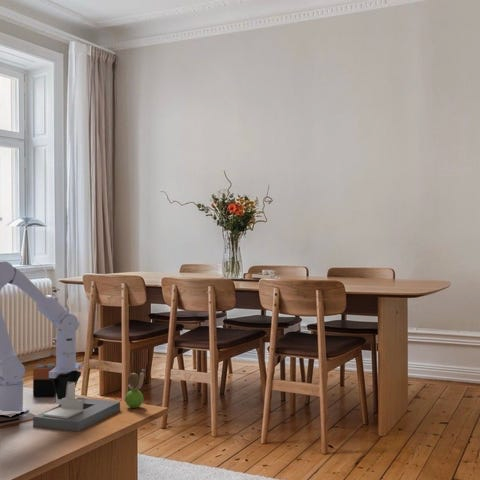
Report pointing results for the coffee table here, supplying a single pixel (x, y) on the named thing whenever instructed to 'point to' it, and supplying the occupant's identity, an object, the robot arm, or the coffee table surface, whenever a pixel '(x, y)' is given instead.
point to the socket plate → (79, 415)
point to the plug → (68, 392)
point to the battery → (43, 381)
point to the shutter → (66, 408)
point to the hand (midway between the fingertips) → (65, 397)
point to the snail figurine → (134, 390)
